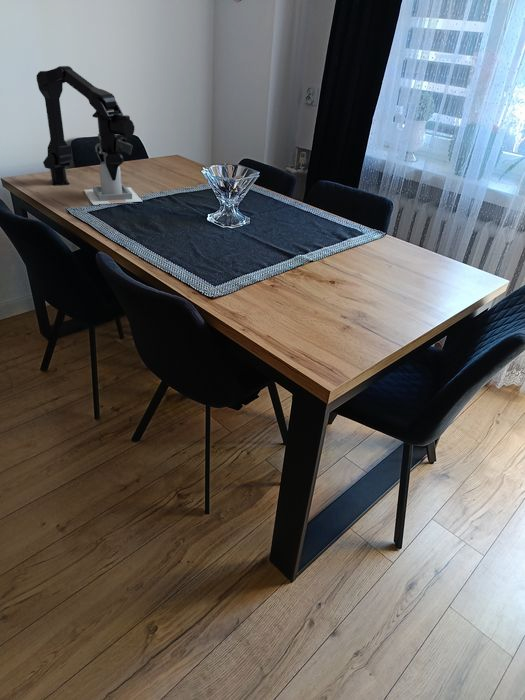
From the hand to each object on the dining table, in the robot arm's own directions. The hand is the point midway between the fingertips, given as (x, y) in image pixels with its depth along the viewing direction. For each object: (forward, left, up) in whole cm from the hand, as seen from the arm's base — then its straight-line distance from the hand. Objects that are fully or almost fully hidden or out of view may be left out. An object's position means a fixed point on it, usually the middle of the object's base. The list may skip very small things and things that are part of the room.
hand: (111, 177), depth 186 cm
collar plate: (0, 0, -8) cm, 8 cm away
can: (0, 0, -7) cm, 7 cm away
